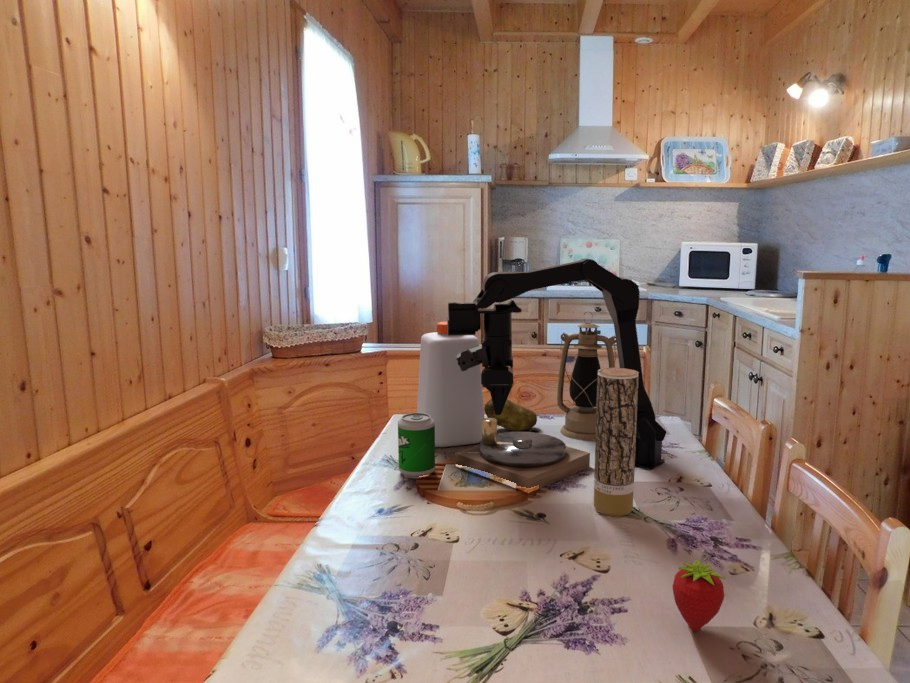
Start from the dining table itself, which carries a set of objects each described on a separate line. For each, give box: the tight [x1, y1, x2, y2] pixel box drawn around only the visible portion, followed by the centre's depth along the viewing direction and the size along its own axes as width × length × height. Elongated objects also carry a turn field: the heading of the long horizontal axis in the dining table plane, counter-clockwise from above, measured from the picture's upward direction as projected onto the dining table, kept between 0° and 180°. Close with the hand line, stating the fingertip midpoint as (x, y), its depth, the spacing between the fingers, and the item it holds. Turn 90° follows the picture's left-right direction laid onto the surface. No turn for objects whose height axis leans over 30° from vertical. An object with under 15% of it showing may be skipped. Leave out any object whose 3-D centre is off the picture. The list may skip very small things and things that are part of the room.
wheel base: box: [454, 444, 591, 490], centre depth 133 cm, size 20×20×3 cm
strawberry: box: [671, 556, 726, 632], centre depth 77 cm, size 6×8×10 cm
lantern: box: [556, 311, 617, 441], centre depth 154 cm, size 14×12×30 cm
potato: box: [484, 398, 538, 432], centre depth 158 cm, size 8×13×8 cm, turn 74°
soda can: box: [397, 412, 436, 479], centre depth 129 cm, size 8×8×12 cm
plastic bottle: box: [416, 320, 485, 448], centre depth 151 cm, size 15×15×28 cm
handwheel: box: [479, 417, 567, 467], centre depth 132 cm, size 18×18×6 cm
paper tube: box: [593, 367, 639, 517], centre depth 110 cm, size 7×7×25 cm
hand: (498, 408), depth 131 cm, fingers open, 9 cm apart
